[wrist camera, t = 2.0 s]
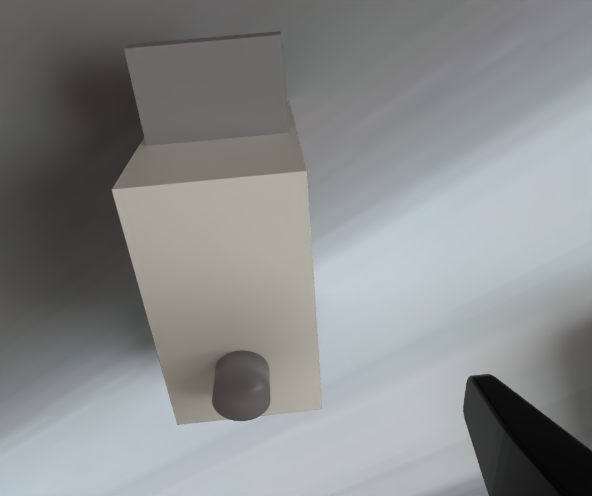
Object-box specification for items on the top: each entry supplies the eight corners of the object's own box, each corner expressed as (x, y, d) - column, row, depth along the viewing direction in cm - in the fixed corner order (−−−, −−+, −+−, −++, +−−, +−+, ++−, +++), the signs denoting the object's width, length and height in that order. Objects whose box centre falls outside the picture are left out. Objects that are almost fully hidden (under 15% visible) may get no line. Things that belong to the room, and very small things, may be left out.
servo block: (283, 19, 14) (303, 62, 8) (307, 333, 20) (330, 493, 14) (143, 31, 14) (60, 84, 8) (208, 343, 20) (188, 509, 14)
